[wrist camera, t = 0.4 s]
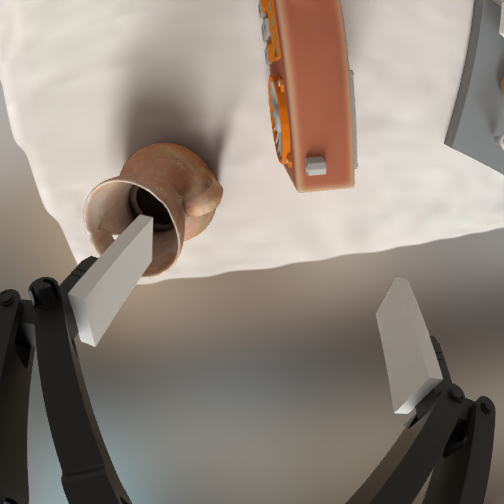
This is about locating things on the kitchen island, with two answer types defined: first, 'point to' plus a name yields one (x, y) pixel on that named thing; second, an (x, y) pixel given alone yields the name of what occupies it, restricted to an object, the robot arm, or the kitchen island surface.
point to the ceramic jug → (155, 201)
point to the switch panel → (481, 91)
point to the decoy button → (502, 85)
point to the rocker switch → (502, 21)
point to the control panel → (311, 92)
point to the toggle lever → (499, 140)
